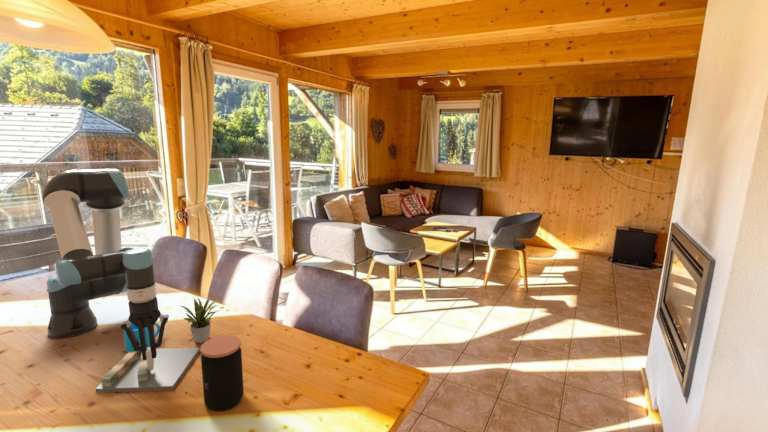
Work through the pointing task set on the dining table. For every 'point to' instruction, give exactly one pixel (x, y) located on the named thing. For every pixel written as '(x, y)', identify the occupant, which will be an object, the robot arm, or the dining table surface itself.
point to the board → (156, 371)
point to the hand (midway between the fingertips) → (151, 367)
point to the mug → (135, 329)
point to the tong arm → (143, 370)
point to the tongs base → (120, 368)
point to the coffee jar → (222, 372)
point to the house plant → (200, 321)
